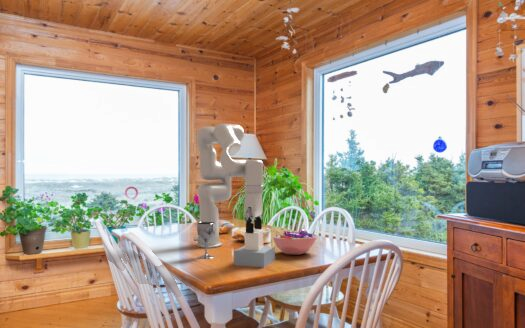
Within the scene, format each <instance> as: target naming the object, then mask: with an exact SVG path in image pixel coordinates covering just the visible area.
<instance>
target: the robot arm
mask: <svg viewBox="0 0 525 328" xmlns="http://www.w3.org/2000/svg"><path fill="white" fill-rule="evenodd" d="M196 133H197V134H196V144H197V148H198V151H199V173H200V178H201V179H202V180H206V181H219V182H205V183H202V184H200V185H199V186H198V187H197V191H196V192H197V197H198V198H197V199H198V204H199V222H215V230H214V235H213V237H212V238H211V239H210V240H209V242H208V244H207V249H209V248H218V247H221V246H222V245H223V242H221V241H220V228H219V227H220V224H219V223H220V216H219V213H220V212H219V208H218V206H217V205H216V204H215V202H225V201H229V200H230V199H231V197H232V191H233V189H232V187H233V186H232V178H244V194H245V195H244V203H243V205H244V206H243V218H244V220H245V232H246V233H254V230H262V227H263V225H262V224H263V223H262V222H263V217H262V216H263V196H262V194H264V163H263V161H262V160H260V159H238V158H237V159H236V158H235V159H234V158H233V159H232V156H234V155H236V154H237V153H238V152H239V151H240V150H241V142H242V140H244V137H245V131H244V128H243V127H242V126H241V125H239V124H235V123H219V124H217V125H215V126H202V127H200V128H199V129H198V130H197V132H196ZM212 144H213V145H219V146H220V148H221V153H220V157H219V159H220V161H218V160H217V154H218V153H217V151H216V149H215V147H214V146H213V145H212ZM193 241H194V242H197V243H196V247H199V248H204V249H205V245H204V242H203V241H202V240H201V239H200V237H199V236H194V237H193Z"/></svg>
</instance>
